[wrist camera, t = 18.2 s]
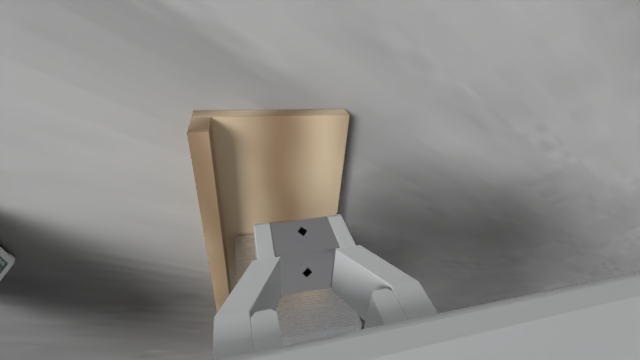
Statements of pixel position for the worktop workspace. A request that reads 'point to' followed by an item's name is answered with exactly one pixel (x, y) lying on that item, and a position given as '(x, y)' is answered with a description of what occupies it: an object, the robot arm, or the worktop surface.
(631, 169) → the worktop surface
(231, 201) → the rack
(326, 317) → the bookend
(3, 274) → the syrup box
